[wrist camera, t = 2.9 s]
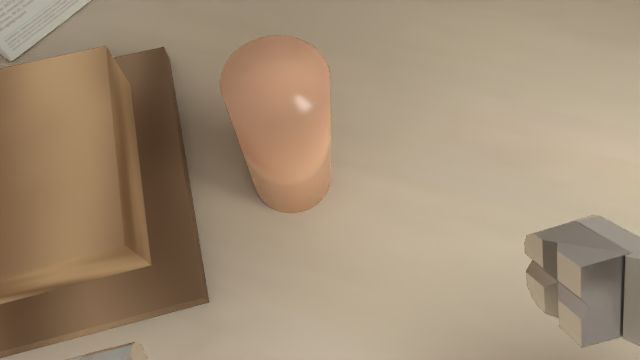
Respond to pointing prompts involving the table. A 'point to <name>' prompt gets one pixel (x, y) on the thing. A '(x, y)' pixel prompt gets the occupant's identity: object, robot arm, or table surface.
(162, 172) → the walnut base
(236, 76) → the peach capsule cylinder
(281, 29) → the table surface
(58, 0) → the supplement box
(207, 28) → the table surface
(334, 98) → the table surface
